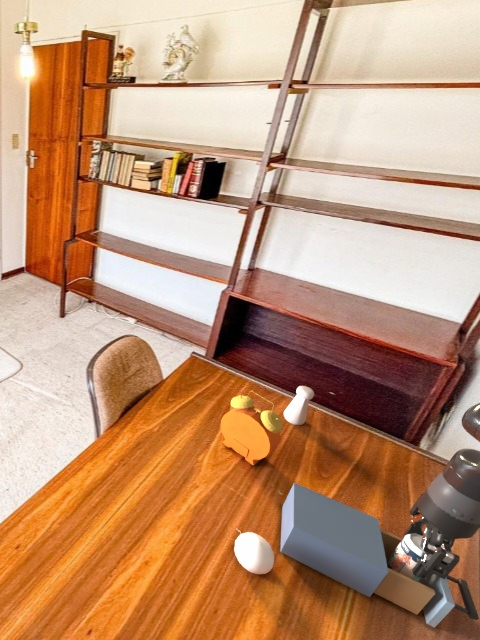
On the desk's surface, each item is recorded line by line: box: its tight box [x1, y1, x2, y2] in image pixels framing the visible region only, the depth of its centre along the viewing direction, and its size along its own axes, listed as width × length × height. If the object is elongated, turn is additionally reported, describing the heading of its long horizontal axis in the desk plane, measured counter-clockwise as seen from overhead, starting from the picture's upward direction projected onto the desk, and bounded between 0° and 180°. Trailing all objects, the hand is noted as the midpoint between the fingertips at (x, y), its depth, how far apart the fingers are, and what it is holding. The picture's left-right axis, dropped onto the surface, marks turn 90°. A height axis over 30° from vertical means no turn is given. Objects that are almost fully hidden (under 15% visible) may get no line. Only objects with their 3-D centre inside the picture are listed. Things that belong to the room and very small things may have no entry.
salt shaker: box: [283, 385, 315, 426], centre depth 120 cm, size 6×6×13 cm
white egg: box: [233, 529, 275, 575], centre depth 84 cm, size 10×7×7 cm
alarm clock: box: [220, 390, 284, 466], centre depth 107 cm, size 13×6×20 cm, turn 34°
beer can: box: [387, 533, 437, 582], centre depth 78 cm, size 5×5×12 cm
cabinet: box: [279, 482, 388, 598], centre depth 86 cm, size 16×13×10 cm
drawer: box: [373, 528, 480, 629], centre depth 80 cm, size 19×11×8 cm, turn 57°
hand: (414, 557), depth 77 cm, fingers open, 7 cm apart
